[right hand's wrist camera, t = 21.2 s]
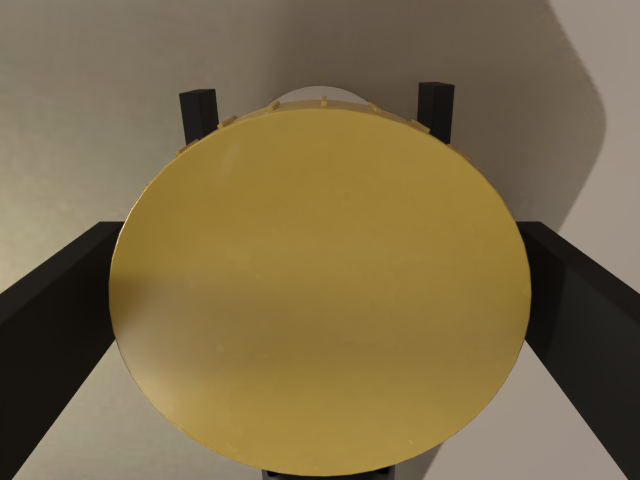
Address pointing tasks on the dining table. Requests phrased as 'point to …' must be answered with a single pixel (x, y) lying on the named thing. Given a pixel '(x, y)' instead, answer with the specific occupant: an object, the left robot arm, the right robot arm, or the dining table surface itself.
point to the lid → (320, 289)
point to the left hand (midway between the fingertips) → (316, 87)
